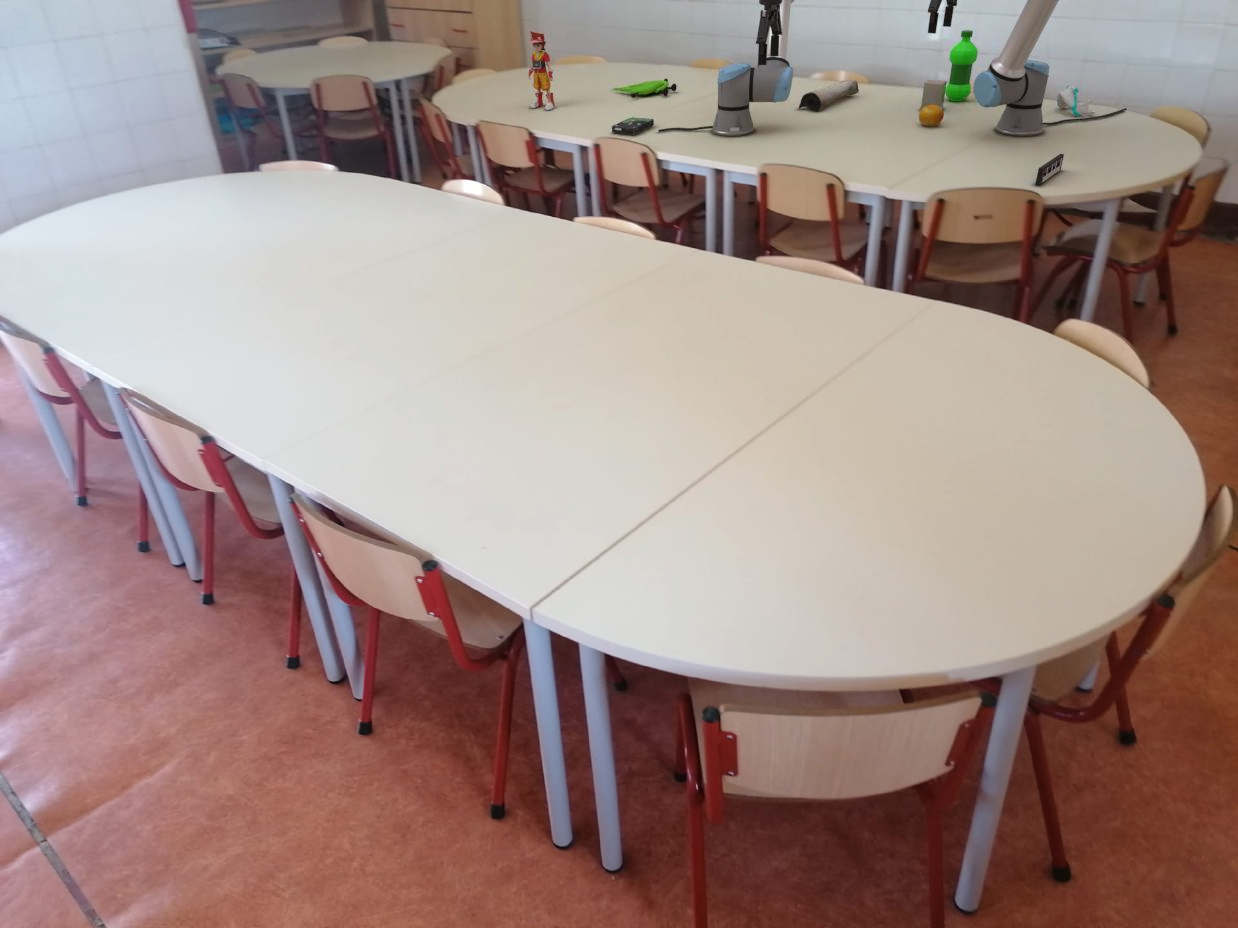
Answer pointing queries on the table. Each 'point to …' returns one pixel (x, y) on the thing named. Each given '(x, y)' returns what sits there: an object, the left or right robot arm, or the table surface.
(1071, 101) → the anatomical model
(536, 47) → the toy
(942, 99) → the brick
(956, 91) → the plastic bottle
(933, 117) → the fruit
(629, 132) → the disk drive
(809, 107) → the rolled mat
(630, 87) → the toy
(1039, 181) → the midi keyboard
